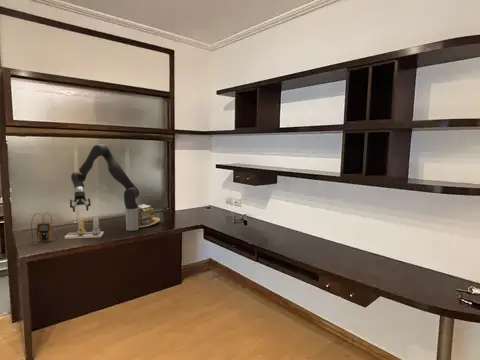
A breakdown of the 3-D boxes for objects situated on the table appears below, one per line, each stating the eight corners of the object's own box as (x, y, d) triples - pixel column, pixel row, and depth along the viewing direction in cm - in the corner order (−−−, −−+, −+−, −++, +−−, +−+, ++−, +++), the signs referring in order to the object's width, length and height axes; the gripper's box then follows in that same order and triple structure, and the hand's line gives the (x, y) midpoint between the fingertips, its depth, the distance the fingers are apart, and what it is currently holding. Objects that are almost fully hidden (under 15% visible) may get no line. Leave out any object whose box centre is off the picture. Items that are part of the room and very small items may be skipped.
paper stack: (131, 229, 257) (130, 208, 255) (127, 222, 279) (127, 203, 277) (162, 226, 267) (162, 206, 265) (156, 219, 290) (156, 201, 288)
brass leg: (85, 232, 239) (84, 218, 238) (83, 235, 234) (82, 220, 232) (79, 232, 239) (78, 218, 237) (76, 235, 233) (76, 220, 231)
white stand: (103, 233, 245) (102, 216, 243) (100, 237, 235) (100, 219, 234) (68, 234, 240) (68, 217, 238) (64, 238, 230) (63, 221, 229)
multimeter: (29, 246, 214) (27, 216, 211) (32, 241, 223) (31, 213, 221) (55, 243, 219) (53, 214, 217) (57, 239, 228) (55, 211, 226)
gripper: (69, 191, 248) (70, 209, 240) (89, 190, 255) (91, 207, 246) (69, 197, 254) (70, 214, 245) (89, 195, 260) (91, 212, 252)
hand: (80, 211), depth 246 cm, fingers open, 8 cm apart
